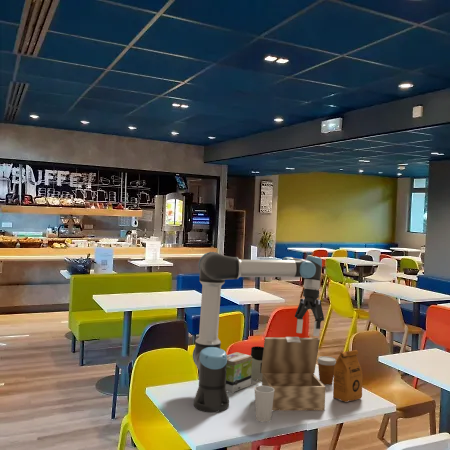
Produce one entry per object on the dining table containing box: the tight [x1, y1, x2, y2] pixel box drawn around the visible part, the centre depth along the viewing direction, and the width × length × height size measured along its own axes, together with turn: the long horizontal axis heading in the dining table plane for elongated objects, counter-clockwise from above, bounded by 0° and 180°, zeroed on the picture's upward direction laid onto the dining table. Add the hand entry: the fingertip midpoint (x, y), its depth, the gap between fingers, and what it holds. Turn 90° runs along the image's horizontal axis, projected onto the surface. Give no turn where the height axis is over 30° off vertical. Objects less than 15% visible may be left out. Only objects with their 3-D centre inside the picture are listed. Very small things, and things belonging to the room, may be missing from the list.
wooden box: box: [261, 373, 326, 412], centre depth 208 cm, size 24×18×10 cm
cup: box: [254, 385, 274, 423], centre depth 190 cm, size 8×8×12 cm
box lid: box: [261, 336, 321, 374], centre depth 213 cm, size 25×19×4 cm
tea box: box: [226, 351, 252, 394], centre depth 225 cm, size 15×10×15 cm, turn 143°
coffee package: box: [332, 349, 364, 403], centre depth 215 cm, size 10×12×22 cm
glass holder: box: [250, 345, 264, 381], centre depth 238 cm, size 9×14×15 cm, turn 44°
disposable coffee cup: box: [316, 355, 337, 385], centre depth 237 cm, size 10×10×12 cm
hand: (307, 334), depth 220 cm, fingers open, 13 cm apart
